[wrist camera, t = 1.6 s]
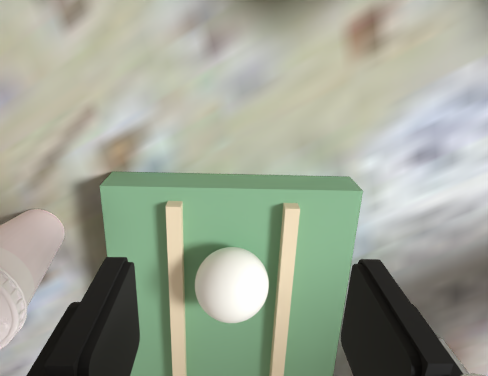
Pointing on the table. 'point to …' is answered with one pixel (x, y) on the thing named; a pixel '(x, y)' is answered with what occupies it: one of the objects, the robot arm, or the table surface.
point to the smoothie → (24, 264)
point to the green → (242, 236)
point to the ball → (231, 285)
